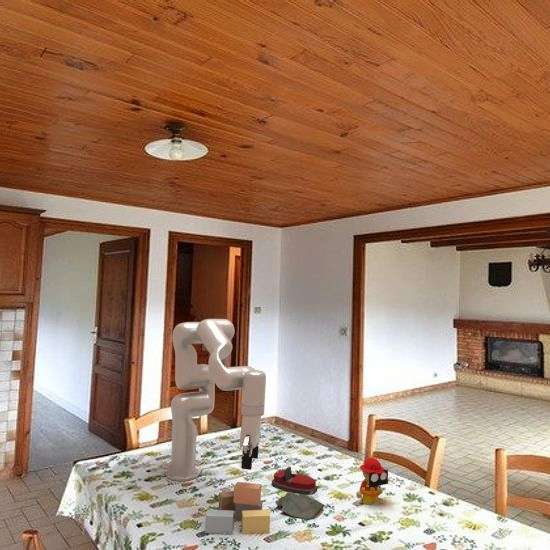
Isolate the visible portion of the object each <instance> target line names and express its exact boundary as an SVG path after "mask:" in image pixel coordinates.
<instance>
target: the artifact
mask: <svg viewBox="0 0 550 550" xmlns="http://www.w3.org/2000/svg"><path fill="white" fill-rule="evenodd" d="M275 505H276V506H278V507H282V508H280V510H279V511H281V512H285V514H286V515H289V516H291V517H294V518H299V519H303V520H311V519H312V520H313V518H314V517H316V516H317V515H318V514H320V513H322V510H323V508H324V507H325V504H324V503H322V502H321V501H319V500H317V499H314V498H313V497H311V496H310V495H303V494H297V493H292V492H286V493H285V495H284V496H280V497H279V498H278V499H277V500H275Z"/></svg>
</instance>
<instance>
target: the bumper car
mask: <svg viewBox="0 0 550 550" xmlns="http://www.w3.org/2000/svg"><path fill="white" fill-rule="evenodd" d="M268 456H269V457H270V458H273V459H274V460H275V464H276V470H277V471H276V472H274V473H273V479H272V480H271V486H272V487H274V488H276V489H278V490H282V491H284V492H286V493H288V492H292V493H294V494H298V495H301V494H303V495H308V496H310V495H314V494H315V493H316V492H317V491H318V486H317V484H316V483H317V481H316V479H314V478H313V477H312V476H310V475H307V474H303V473H293V471H292V467H291V466H287V467H286V468H284V469H280V470H279V466H278V465H279V463H278V461H277V458H275V456H273V455H272V454H269V455H268Z"/></svg>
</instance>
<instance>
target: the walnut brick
mask: <svg viewBox="0 0 550 550" xmlns="http://www.w3.org/2000/svg"><path fill="white" fill-rule="evenodd" d="M233 500H234V490H229V491H221V492H220V491H219V493H218V510H231V511H234V512H235V503H233Z"/></svg>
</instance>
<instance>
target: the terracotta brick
mask: <svg viewBox="0 0 550 550" xmlns="http://www.w3.org/2000/svg"><path fill="white" fill-rule="evenodd" d="M233 491H234V500H233V503H239V504H248V505H257V506H258V505H259V503H260V501H261V500H262V483H254V482H253V483H251V482H242V481H236V483H235V484H234V486H233Z"/></svg>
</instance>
